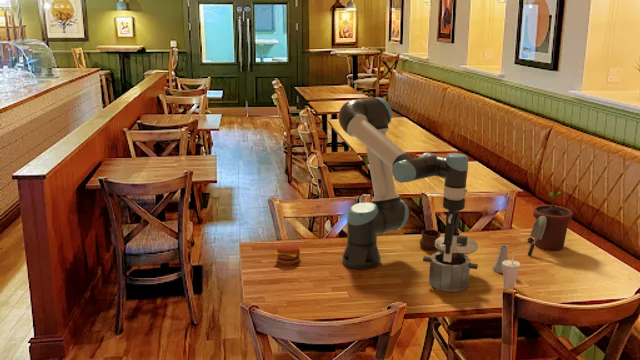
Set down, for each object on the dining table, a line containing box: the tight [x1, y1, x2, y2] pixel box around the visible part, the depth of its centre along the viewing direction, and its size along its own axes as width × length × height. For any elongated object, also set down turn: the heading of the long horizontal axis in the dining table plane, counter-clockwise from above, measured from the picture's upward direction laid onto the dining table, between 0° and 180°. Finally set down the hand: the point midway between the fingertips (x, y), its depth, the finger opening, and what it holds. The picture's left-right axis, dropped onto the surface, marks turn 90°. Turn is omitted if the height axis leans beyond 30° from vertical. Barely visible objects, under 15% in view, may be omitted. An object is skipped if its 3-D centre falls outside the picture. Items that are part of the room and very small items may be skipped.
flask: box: [492, 244, 509, 274], centre depth 241 cm, size 7×7×10 cm
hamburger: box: [274, 242, 302, 265], centre depth 250 cm, size 9×10×7 cm
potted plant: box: [527, 191, 574, 257], centre depth 261 cm, size 18×22×25 cm
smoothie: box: [502, 251, 521, 290], centre depth 225 cm, size 6×6×14 cm
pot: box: [422, 251, 479, 293], centre depth 229 cm, size 20×14×10 cm
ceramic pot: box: [419, 229, 441, 251], centre depth 263 cm, size 18×18×7 cm
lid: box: [435, 234, 479, 255], centre depth 237 cm, size 16×16×4 cm
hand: (449, 256), depth 226 cm, fingers open, 9 cm apart
